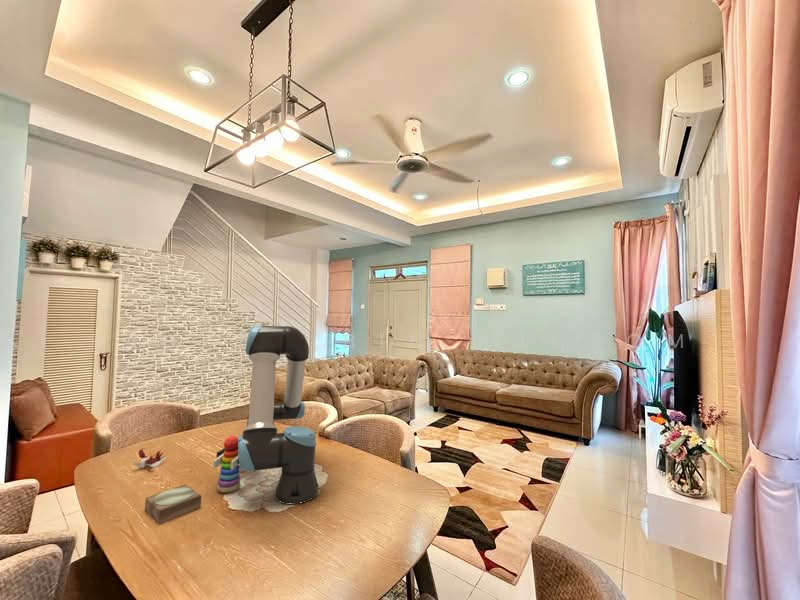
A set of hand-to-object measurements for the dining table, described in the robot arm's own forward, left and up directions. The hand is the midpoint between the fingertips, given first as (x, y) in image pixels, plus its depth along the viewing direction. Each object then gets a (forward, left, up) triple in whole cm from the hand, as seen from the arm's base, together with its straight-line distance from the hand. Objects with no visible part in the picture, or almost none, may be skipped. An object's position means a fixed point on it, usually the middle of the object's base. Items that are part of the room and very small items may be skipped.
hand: (223, 465), depth 122 cm
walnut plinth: (+4, +14, -11) cm, 18 cm away
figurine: (+46, +7, -11) cm, 48 cm away
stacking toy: (+3, -4, -11) cm, 12 cm away
